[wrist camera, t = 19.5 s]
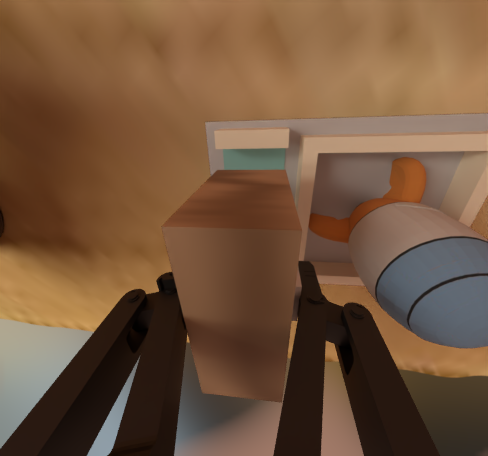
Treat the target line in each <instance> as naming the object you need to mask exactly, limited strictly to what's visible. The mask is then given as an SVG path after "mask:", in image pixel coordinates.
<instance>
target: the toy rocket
mask: <svg viewBox="0 0 488 456" xmlns="http://www.w3.org/2000/svg"><path fill="white" fill-rule="evenodd" d="M389 184H390V186H391V189H390V190H389V191H388V193H386V194H385V195H384V196H383V198H376V199H371V200H368V201H366V202H363V203H361V204H359V205H358V206H357V207H356V208H355V209H354V211H353V212H352V213H351V215H350V217H349V218H347V217H346V218H344V219H340V220H338V219H336V218H334V217H330V216H324V215H319V214H314V213H311V214H310V218H309V225H308V227H309V229H310V230H311V231H312V232H313V233H315V234H316V235H318V236H320V237H322V238H325V239H328V240H332V241H337V242H343V243H348V246H349V253H350V256H351V259H352V262H353V264H354V267H355V269H356V271H357V273H358V275H359V277H360V279H361V280H362V282H363V284H364V285H365V287H366V288H367V290H368V291H369V292H370V294H371V295H372V296H373V298H374V299H375V301H376V302H377V303H378V304H379V305H380V306H381V308H383V310H384V311H386V312H387V313H388V314H389V315H390V316H391V317H392V318H393V319H395V320H396V321H397V322H398V323H400V324H401V325H402V326H404V327H405V328H406V329H408V330H410V331H411V332H413V333H415V334H416V335H417V336H418V337H420V338H422V339H424V340H426V341H429V342H433V343H436V344H440V345H444V346H450V347H456V348H478V347H485V346H488V239H486V238H485V237H483V236H482V235H480V234H479V233H477V232H476V231H474V230H473V229H471V228H470V227H468V226H467V225H465V224H463V223H461V222H459V221H457V220H455V219H453V218H451V217H449V216H448V215H447V214H445V213H444V212H442V211H439V210H437V209H434V208H432V207H429V206H426V205H424V204H420V202H421V199H422V197H423V194H424V191H425V186H426V171H425V168H424V166H423V165H422V164H421V162H420V161H418V160H416V159H414V158H410V157H402V158H398V159H395V160H394V161H392V169H391V175H390V180H389Z"/></svg>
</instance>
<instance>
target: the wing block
mask: <svg viewBox="0 0 488 456" xmlns="http://www.w3.org/2000/svg"><path fill="white" fill-rule="evenodd" d="M161 227H162V231H163V235H164V239H165V244H166V248H167V252H168V256H169V260H170V264H171V268H172V272H173V276H174V280H175V284H176V288H177V292H178V296H179V300H180V304H181V308H182V312H183V316H184V321H185V325H186V329H187V333H188V337H189V341H190V345H191V349H192V353H193V357H194V361H195V365H196V369H197V373H198V377H199V381H200V385H201V389H202V392H203V393H208V394H217V395H225V396H233V397H242V398H250V399H257V400H266V401H275V402H282V396H283V388H284V380H285V371H286V363H287V355H288V346H289V338H290V329H291V321H292V313H293V304H294V296H295V287H296V279H297V270H298V262H299V254H300V245H301V237H302V228H301V224H300V221H299V217H298V213H297V210H296V206H295V202H294V199H293V195H292V191H291V187H290V184H289V180H288V176H287V173H286V170H217V171H216V172H215V173H214V174H213V175H212V176H211V177H210V178H209V179H208V180H207V181H206V182H205V183H204V184H203V185H202V186H201V187H200V188H199V189H198V190H197V191H196V192H195V193H194V194H193V195H192V196H191V197H190V198H189V199H188V200H187V201H186V202H185V203H184V204H183V205H182V206H181V207H180V208H179V209H178V210H177V211H176V212H175V213H174V214H173V215H172V216H171V217H170V218H169V219H168V220H167V221H166V222H165V223H164V224H163V225H162V226H161Z"/></svg>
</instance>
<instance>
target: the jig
mask: <svg viewBox="0 0 488 456" xmlns="http://www.w3.org/2000/svg"><path fill="white" fill-rule="evenodd" d="M205 126H206V135H207V145H208V154H209V164H210V173H211V176H212V175H213V174H214V173H215V172H216V171H217V170H286V173H287V176H288V180H289V184H290V187H291V191H292V195H293V199H294V202H295V206H296V210H297V213H298V217H299V221H300V224H301V228H302V237H301V245H300V254H299V261H310V262H311V264H312V265H313V266H314V268H315V273H316V275H317V279H318V282H319V284H337V285H356V286H365V285H364V284H363V282H362V280H361V279H360V277H359V275H358V273H357V271H356V269H355V267H354V264H353V262H352V259H351V256H350V253H349V246H348V243H343V242H337V241H332V240H328V239H325V238H322V237H320V236H318V235H316V234H315V233H313V232H312V231H311V230H310V229H309V227H308V225H309V218H310V214H311V213H314V214H319V215H324V216H330V217H334V218H336V219H338V220H340V219H344V218H346V217H347V218H349V217H350V215H351V213H352V212H353V211H354V209H355V208H356V207H357V206H358V205H359V204H361V203H363V202H366V201H368V200H371V199H376V198H383V196H384V195H385V194H386V193H388V191H389V190H390V189H391V186H390V184H389V180H390V175H391V169H392V161H394V160H395V159H398V158H402V157H410V158H414V159H416V160H418V161H420V162H421V164H422V165H423V166H424V168H425V171H426V186H425V191H424V194H423V197H422V199H421V202H420V204H424V205H426V206H429V207H432V208H434V209H437V210H439V211H442V212H444V213H445V214H447V215H448V216H449V217H451V218H453V219H455V220H457V221H459V222H461V223H463V224H465V225H467V226H468V227H470V226H471V224H472V223H473V221H474V219H475V217H476V215H477V214H478V212H479V210H480V208H481V206H482V205H483V203H484V201H485V199H486V197H487V196H488V113H475V114H443V115H410V116H378V117H345V118H313V119H280V120H248V121H215V122H205Z"/></svg>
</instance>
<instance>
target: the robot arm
mask: <svg viewBox="0 0 488 456" xmlns="http://www.w3.org/2000/svg"><path fill="white" fill-rule="evenodd" d="M2 232H3V220H2V216H1V213H0V237H1V235H2ZM157 285H158V288H159V292H156V293H151V294H146V293H145V291H144V290H142V289H135V290H132V291H129V292H128V293H126V294H125V295H124V296H123V297H122V298H121V299H120V301H119V302H118V303H117V304H116V306H115V307H114V308H113V309H112V311H111V312H110V313H109V314H108V316H107V317H106V318H105V319H104V321H103V322H102V323H101V324H100V326H99V327H98V328H97V329H96V331H95V332H94V333H93V334H92V336H91V337H90V338H89V339H88V341H87V342H86V343H85V344H84V345H83V347H82V348H81V349H80V350H79V352H78V353H77V354H76V355H75V357H74V358H73V359H72V360H71V362H70V363H69V364H68V365H67V367H66V368H65V369H64V370H63V372H62V373H61V374H60V375H59V377H58V378H57V379H56V380H55V382H54V383H53V384H52V386H51V387H50V388H49V389H48V390H47V392H46V393H45V394H44V395H43V397H42V398H41V399H40V400H39V402H38V403H37V404H36V405H35V407H34V408H33V409H32V410H31V412H30V413H29V414H28V415H27V417H26V418H25V419H24V420H23V421H22V423H21V424H20V425H19V427H18V428H17V429H16V430H15V432H14V433H13V434H12V435H11V436H10V438H9V439H8V440H7V441H6V443H5V444H4V445H3V446H2V448H1V449H0V456H87V454H88V452H89V450H90V448H91V447H92V445H93V443H94V441H95V439H96V437H97V435H98V433H99V432H100V430H101V428H102V426H103V424H104V422H105V420H106V418H107V416H108V415H109V413H110V411H111V409H112V407H113V405H114V403H115V402H116V400H117V398H118V396H119V394H120V392H121V390H122V388H123V386H124V385H125V383H126V381H127V379H128V377H129V375H130V373H131V371H132V370H133V368H134V366H135V364H136V362H137V360H138V358H139V357H140V359H139V363H138V366H137V369H136V373H135V376H134V379H133V383H132V386H131V390H130V393H129V396H128V400H127V403H126V406H125V410H124V413H123V417H122V420H121V423H120V427H119V430H118V434H117V437H116V440H115V444H114V446H113V449H112V451H111V452H110V454H109V455H108V456H174V450H175V441H176V431H177V423H178V414H179V404H180V396H181V386H182V377H183V368H184V359H185V350H186V341H187V329H186V325H185V321H184V316H183V312H182V308H181V304H180V300H179V296H178V292H177V288H176V284H175V280H174V276H173V272H169V273H165V274H163V275H161V276H160V277H159V278H158V279H157ZM297 318H298V323H297V328H296V334H295V339H294V345H293V350H292V356H291V361H290V367H289V372H288V378H287V384H286V389H285V395H284V400H283V406H282V411H281V417H280V422H279V428H278V433H277V439H276V444H275V450H274V455H273V456H321V438H322V437H321V436H322V414H323V390H324V367H325V343H326V341H329V342H331V343H334V344H335V348H336V351H337V355H338V359H339V363H340V366H341V370H342V374H343V378H344V382H345V386H346V389H347V393H348V397H349V401H350V404H351V408H352V412H353V415H354V419H355V423H356V427H357V431H358V435H359V439H360V442H361V446H362V450H363V454H364V456H440V455H439V453H438V451H437V449H436V447H435V444H434V443H433V440H432V439H431V436H430V434H429V432H428V430H427V428H426V426H425V424H424V422H423V420H422V418H421V416H420V414H419V412H418V410H417V408H416V405H415V403H414V402H413V399H412V397H411V395H410V393H409V391H408V389H407V387H406V385H405V383H404V381H403V379H402V377H401V375H400V373H399V371H398V369H397V366H396V364H395V362H394V360H393V358H392V356H391V354H390V352H389V350H388V348H387V346H386V344H385V342H384V340H383V338H382V336H381V334H380V332H379V330H378V327H377V325H376V323H375V321H374V319H373V317H372V315H371V313H370V312H369V311H368V309H366V308H365V307H364V306H362V305H360V304H358V303H353V302H352V303H347V304H345V305H344V307H342V306H339V305H336V304H333V303H331V302H329V301H328V300H327V299H326V298H325V296H324V295H322V293H321V289H320V286H319V282H318V279H317V275H316V273H315V268H314V266H313V265H312V264H311V262H310V261H299V262H298V270H297V279H296V287H295V296H294V304H293V313H292V321H297ZM140 355H141V356H140Z"/></svg>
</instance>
